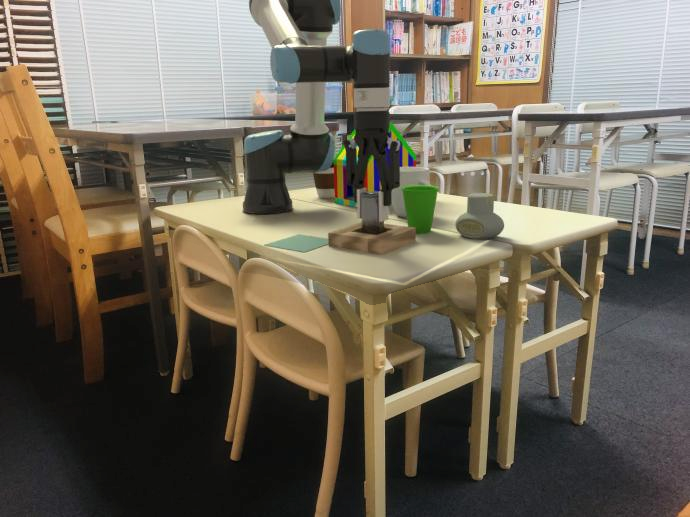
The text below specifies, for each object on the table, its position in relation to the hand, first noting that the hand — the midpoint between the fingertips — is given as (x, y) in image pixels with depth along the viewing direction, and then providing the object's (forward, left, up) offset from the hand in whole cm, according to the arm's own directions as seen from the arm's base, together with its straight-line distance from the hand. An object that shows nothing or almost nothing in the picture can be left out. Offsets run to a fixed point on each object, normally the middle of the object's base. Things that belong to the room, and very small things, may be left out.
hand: (372, 218), depth 121 cm
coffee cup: (-51, +48, -6) cm, 70 cm away
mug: (-9, +33, -6) cm, 35 cm away
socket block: (0, 0, -6) cm, 6 cm away
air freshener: (+17, +19, -6) cm, 26 cm away
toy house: (-32, +50, -6) cm, 60 cm away
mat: (-14, -8, -6) cm, 17 cm away
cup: (+3, +16, -6) cm, 17 cm away
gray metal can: (0, 0, -4) cm, 4 cm away
